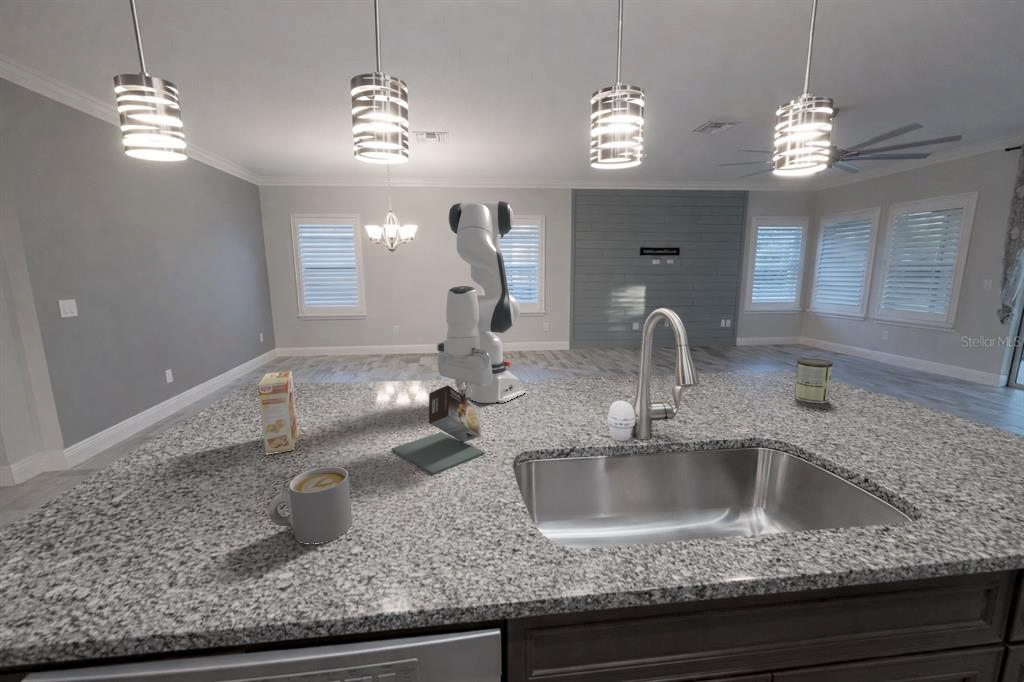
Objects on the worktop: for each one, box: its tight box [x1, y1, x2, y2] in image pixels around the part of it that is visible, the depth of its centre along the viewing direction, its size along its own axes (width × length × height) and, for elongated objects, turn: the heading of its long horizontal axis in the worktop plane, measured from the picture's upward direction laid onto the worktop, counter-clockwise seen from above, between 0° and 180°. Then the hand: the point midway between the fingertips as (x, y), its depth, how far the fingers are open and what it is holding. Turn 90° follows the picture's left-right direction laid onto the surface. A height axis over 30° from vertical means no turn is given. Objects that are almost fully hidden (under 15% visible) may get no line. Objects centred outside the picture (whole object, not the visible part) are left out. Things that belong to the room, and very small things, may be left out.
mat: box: [391, 431, 485, 476], centre depth 111 cm, size 16×20×1 cm
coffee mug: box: [268, 466, 353, 544], centre depth 77 cm, size 13×10×10 cm
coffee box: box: [428, 384, 482, 443], centre depth 113 cm, size 9×6×16 cm
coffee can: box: [793, 357, 834, 404], centre depth 149 cm, size 10×10×14 cm
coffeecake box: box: [257, 370, 298, 454], centre depth 117 cm, size 15×7×20 cm, turn 23°
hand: (464, 396), depth 114 cm, fingers closed, pressing on coffee box
